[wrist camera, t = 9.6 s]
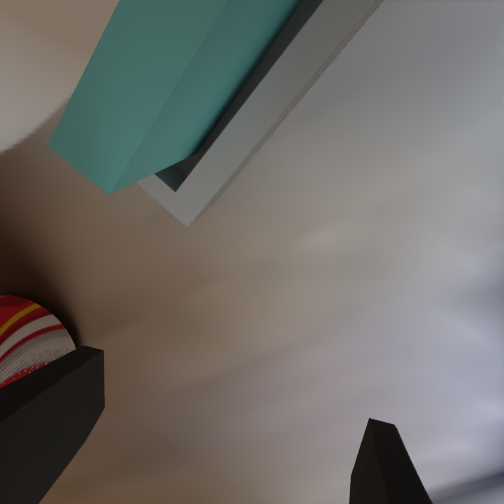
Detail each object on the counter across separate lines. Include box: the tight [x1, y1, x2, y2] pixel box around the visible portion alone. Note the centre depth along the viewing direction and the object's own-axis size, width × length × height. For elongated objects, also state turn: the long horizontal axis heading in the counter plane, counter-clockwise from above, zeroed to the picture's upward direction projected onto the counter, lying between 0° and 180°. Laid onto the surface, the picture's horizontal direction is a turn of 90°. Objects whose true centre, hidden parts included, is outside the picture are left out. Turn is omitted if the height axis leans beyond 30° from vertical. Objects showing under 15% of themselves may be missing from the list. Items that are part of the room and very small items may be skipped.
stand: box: [136, 0, 383, 228], centre depth 15 cm, size 6×12×3 cm, turn 140°
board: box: [47, 0, 303, 195], centre depth 12 cm, size 2×9×7 cm, turn 143°
